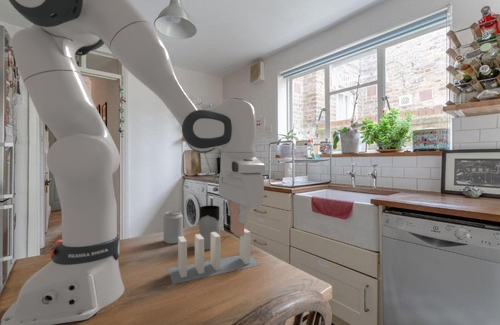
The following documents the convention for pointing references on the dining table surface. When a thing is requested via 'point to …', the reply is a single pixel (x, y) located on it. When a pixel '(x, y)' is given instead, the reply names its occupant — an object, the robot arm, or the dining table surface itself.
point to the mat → (211, 269)
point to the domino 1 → (182, 256)
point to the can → (173, 226)
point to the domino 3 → (215, 251)
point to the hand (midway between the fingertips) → (237, 219)
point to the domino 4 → (236, 220)
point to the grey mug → (209, 223)
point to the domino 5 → (245, 246)
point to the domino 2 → (199, 253)
